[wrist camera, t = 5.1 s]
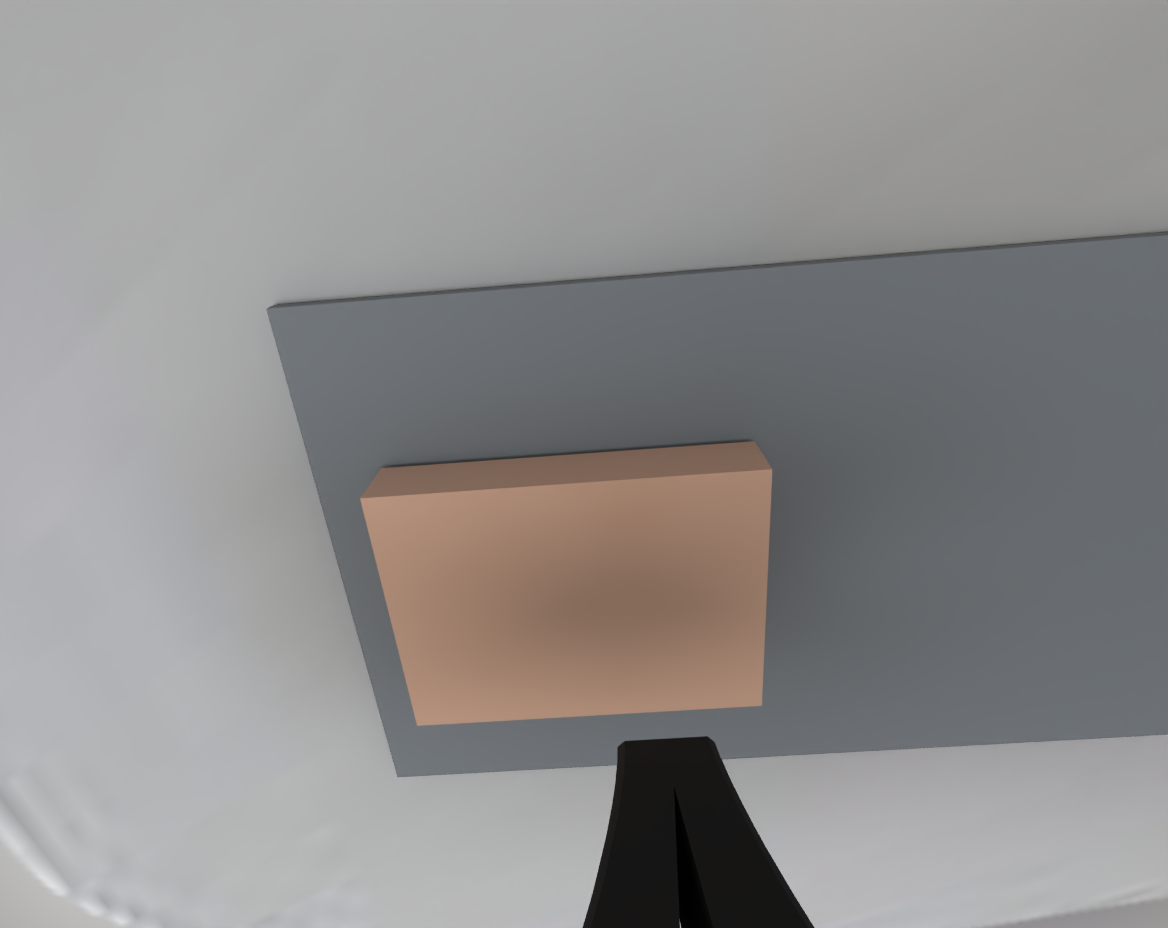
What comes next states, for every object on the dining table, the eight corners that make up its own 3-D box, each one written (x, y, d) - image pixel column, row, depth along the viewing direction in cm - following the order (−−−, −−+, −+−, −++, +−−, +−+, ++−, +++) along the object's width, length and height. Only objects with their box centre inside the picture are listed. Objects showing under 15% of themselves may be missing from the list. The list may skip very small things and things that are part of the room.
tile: (772, 469, 12) (360, 498, 13) (762, 705, 15) (417, 725, 15) (753, 437, 14) (383, 464, 14) (746, 657, 16) (431, 676, 17)
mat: (1354, 216, 12) (1377, 217, 12) (1159, 722, 18) (1171, 734, 17) (275, 305, 13) (266, 308, 13) (401, 765, 18) (397, 776, 18)
